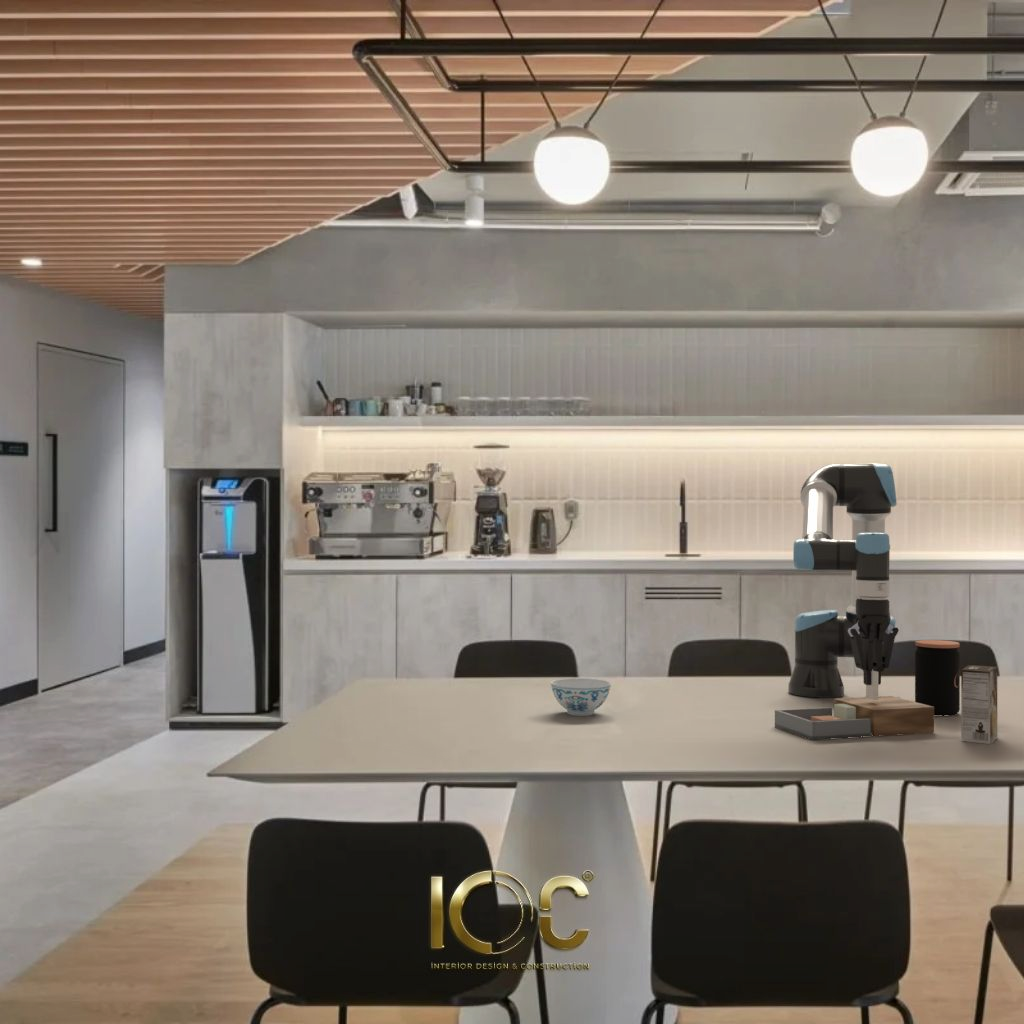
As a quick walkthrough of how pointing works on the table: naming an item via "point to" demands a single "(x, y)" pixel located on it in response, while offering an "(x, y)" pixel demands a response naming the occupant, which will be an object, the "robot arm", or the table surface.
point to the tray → (820, 724)
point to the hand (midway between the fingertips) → (872, 698)
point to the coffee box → (979, 704)
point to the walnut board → (892, 715)
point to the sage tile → (844, 711)
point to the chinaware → (580, 694)
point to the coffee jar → (938, 675)
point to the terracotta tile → (823, 718)
